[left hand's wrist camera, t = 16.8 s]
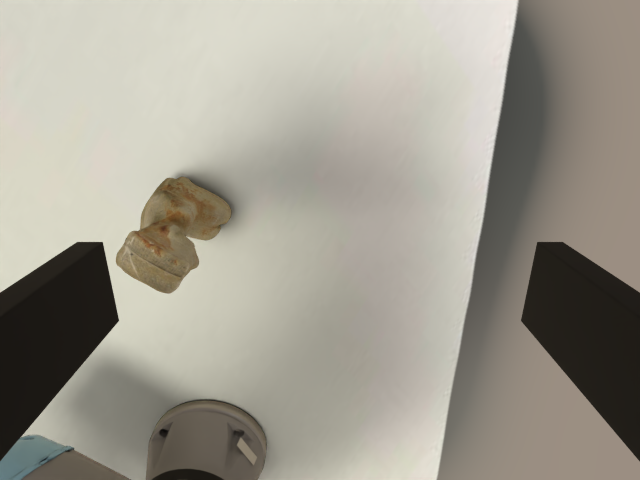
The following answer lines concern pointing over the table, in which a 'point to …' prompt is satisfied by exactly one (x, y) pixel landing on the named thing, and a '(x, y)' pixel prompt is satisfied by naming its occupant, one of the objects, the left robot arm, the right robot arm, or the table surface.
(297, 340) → the table surface
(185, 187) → the sculpture
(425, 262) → the table surface
